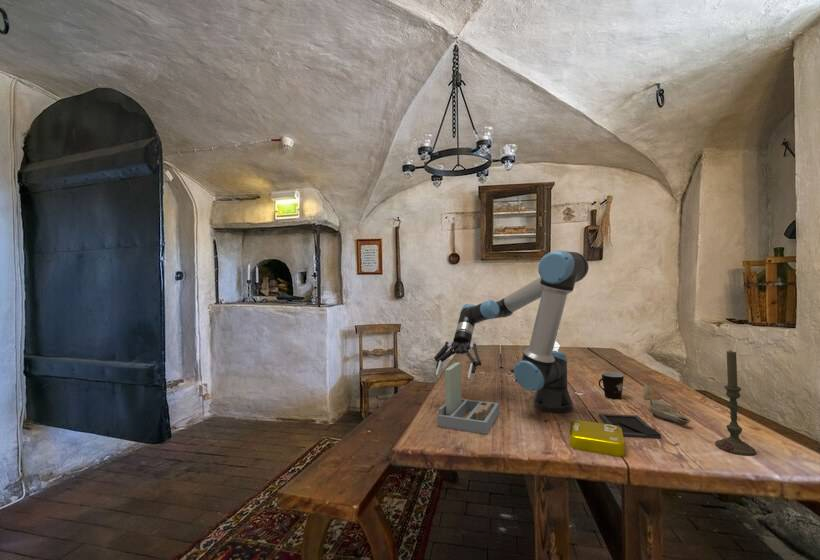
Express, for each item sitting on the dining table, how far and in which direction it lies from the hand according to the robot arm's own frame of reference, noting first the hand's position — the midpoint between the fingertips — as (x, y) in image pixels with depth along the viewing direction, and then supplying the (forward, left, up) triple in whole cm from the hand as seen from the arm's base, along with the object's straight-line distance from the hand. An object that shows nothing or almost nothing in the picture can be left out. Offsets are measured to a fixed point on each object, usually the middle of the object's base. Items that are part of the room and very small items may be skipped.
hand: (453, 377), depth 142 cm
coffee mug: (-58, -43, -14) cm, 74 cm away
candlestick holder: (-88, -3, -14) cm, 90 cm away
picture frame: (-61, -10, -15) cm, 64 cm away
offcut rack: (-8, +5, -14) cm, 17 cm away
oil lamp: (-75, -24, -14) cm, 80 cm away
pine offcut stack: (-13, +5, -14) cm, 20 cm away
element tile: (-51, +8, -15) cm, 53 cm away
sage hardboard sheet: (-2, +5, -14) cm, 15 cm away
